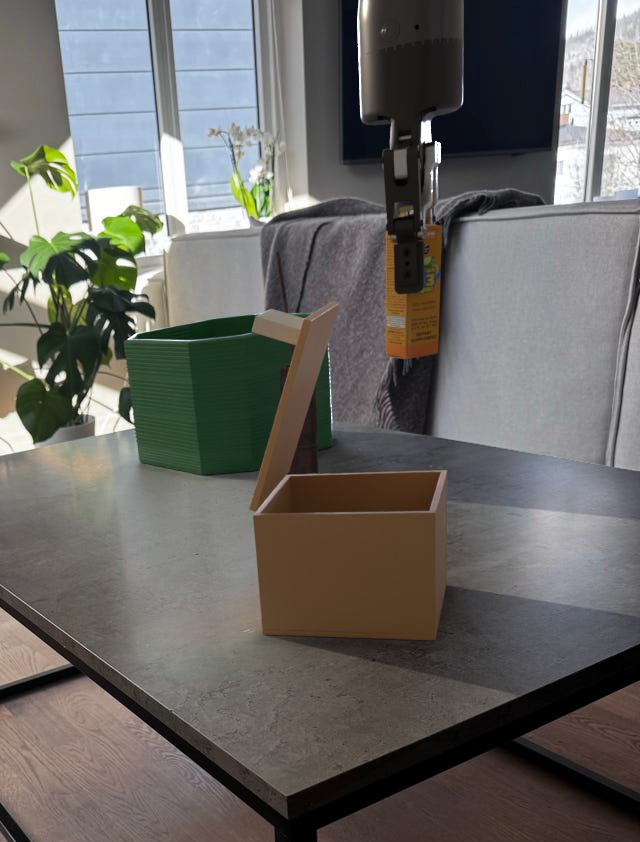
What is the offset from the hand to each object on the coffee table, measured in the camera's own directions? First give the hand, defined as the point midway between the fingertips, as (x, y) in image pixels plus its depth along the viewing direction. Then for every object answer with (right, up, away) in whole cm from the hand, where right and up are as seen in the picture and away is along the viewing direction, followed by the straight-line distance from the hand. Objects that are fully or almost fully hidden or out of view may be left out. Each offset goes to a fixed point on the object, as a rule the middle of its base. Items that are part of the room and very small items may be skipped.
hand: (413, 288), depth 75 cm
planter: (-9, +1, +66) cm, 67 cm away
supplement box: (+1, -5, +2) cm, 5 cm away
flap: (-10, -10, -1) cm, 14 cm away
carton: (-3, -26, +5) cm, 27 cm away
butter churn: (-1, -8, +45) cm, 46 cm away
